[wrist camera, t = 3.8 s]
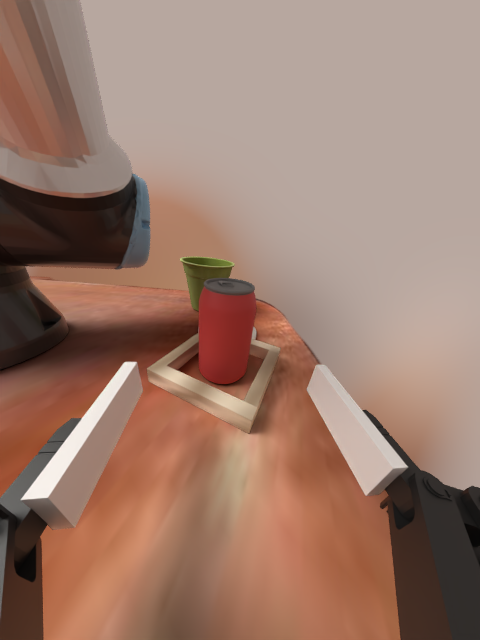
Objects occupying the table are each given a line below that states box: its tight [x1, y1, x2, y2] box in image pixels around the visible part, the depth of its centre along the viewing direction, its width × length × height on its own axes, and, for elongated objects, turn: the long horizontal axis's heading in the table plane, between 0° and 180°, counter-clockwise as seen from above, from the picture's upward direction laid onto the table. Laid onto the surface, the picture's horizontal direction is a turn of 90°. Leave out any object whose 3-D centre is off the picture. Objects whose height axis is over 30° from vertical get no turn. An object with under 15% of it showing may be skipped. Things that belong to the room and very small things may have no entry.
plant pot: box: [180, 257, 235, 311], centre depth 40 cm, size 12×12×11 cm
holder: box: [147, 333, 281, 434], centre depth 23 cm, size 13×13×2 cm
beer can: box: [199, 278, 256, 384], centre depth 21 cm, size 7×7×12 cm
